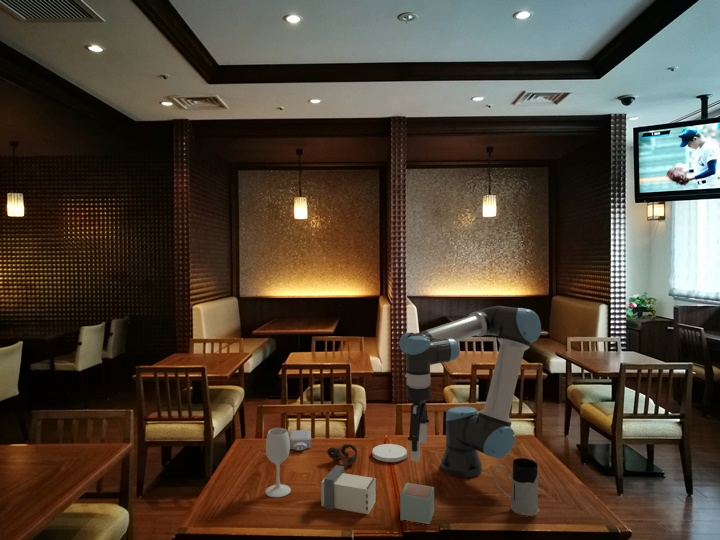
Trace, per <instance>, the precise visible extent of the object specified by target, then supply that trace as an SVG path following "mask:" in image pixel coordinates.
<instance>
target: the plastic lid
mask: <svg viewBox="0 0 720 540" xmlns="http://www.w3.org/2000/svg"><path fill="white" fill-rule="evenodd" d="M371 452H372V457H373V458H374V459H376V460H378V461H381V462H386V463H396V462H400V461H403V460H405V459H406V458H407V457H408V450H407V448H405V447H404V446H402V445H399V444H394V443H385V444H383V443H382V444H378V445H376V446H374V447H373V448H372V451H371Z"/></svg>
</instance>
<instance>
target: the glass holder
mask: <svg viewBox="0 0 720 540" xmlns="http://www.w3.org/2000/svg"><path fill="white" fill-rule="evenodd" d="M499 467H502V468H504V470H505V471H506V478H507V479H508V480H510V481H511V496H510V495H509V494H507V492H506V491H504V490H503V489H502V488H501V487H500V486H499V484H498V481H497V480H496V474H495V473H496V469H498V468H499ZM538 468H539V467H538V462H536V461H534V460H532V459H530V458H526V457H525V458H524V457H523V458H521V457H520V458H519V457H517V458H515V459H513V460H512V477H509V473H508V472H509V471H508V468H507V467H506V466H505V465H502V464H498V465H496V466H495V467H494V468H493V480H494V483H495V485H496V487H497V489H499V490H500V491H501V492H502V493H503V494H504V495H505V496H506V497H507V498H508V499H510V503H511V504H510V506H511V508H510V510H511V509H512V510H514V511H515V512H517V513H520V514H524V515H533V514H536V513H538V512H539V513H540V509H539V503H538V502H539V497H538V496H539V471H538ZM512 510H511V511H512ZM515 512H514V513H515ZM517 513H516V514H517Z"/></svg>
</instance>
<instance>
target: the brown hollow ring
mask: <svg viewBox="0 0 720 540" xmlns="http://www.w3.org/2000/svg"><path fill="white" fill-rule="evenodd" d="M349 448H350V449H352V451H354V455H353V456H351V457H349V455H350V453H349V452H347V451H346V450H347V449H349ZM326 453H327V455H328V457H330V459H332V461H333V462H335V461H337V460H338V459H340V460H341V461H342V462H343V463H342V464H341V466H344V469H345V468H347V467H348V466H351V465H352V464H354V463H355V462H356V461H357V460H358V456H359V454H358V449H357V448H356V446H354V445H353V444H351V443H343V444H341V445H340V446H338V447H329V448H328V449H327V451H326Z"/></svg>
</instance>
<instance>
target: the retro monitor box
mask: <svg viewBox="0 0 720 540" xmlns="http://www.w3.org/2000/svg"><path fill="white" fill-rule="evenodd" d="M399 496H400V501H399V503H400V507H399V508H400V509H399V511H400V515H399V516H400V520H399V521H403V520H405V519H408V520H412V521H416V522H421V523H426V524H430V525H431V522H432V518H433V516H434V513H435V486H429V485H424V484H417V483H413V482H412V483H411V482H405V484H404V487H403V488H402V490H401V492H400V494H399ZM430 521H431V522H430Z"/></svg>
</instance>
